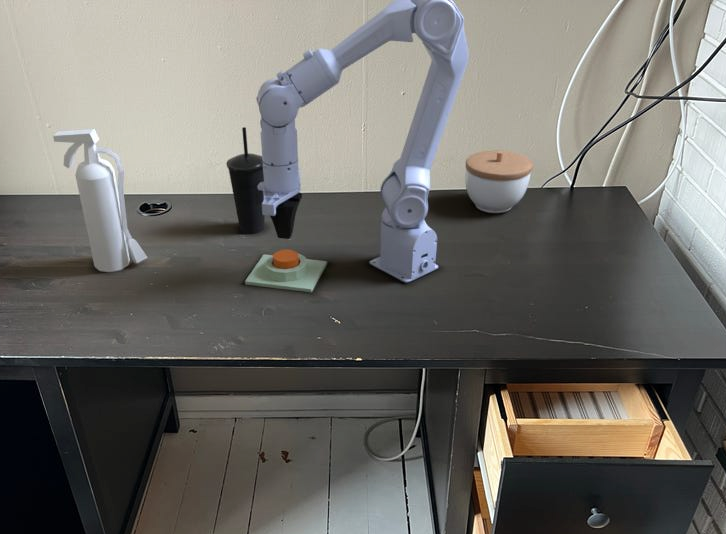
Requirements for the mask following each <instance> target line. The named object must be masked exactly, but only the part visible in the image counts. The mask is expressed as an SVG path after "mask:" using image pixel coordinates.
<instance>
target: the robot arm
mask: <svg viewBox="0 0 726 534" xmlns="http://www.w3.org/2000/svg"><path fill="white" fill-rule="evenodd" d="M465 31H466V30H465V17H464V16H463V14H462V12H461V11H460V9H459V8H458V7H457V5H456V3H455V2H454V1H453V0H393V1H391V2H390V3H389V4H388V5H387V6H386V7H385V8H383V9H382V10H381V11H380V12H378V13H377V14H376V15H374V16H373V17H372V18H370V19H369V20H367V21H366V22H365V23H364V24H363V25H361V26H360V27H359V28H357V29H356V30H355V31H354V32H352V33H351V34H350V35H348V36H347V37H346V38H345V39H343V40H342V41H340V43H338V44H337V45H335V46H334V47H333V48H331V49H326V48H316V50H313V51H312V49H308V50H306V51H305V52H304V53H302V57H303V58H302V59H301V60H299V61H298V62H296V63H295V64H294V65H293V66H291V67H290V68H288V69H287V70H285V71H283V70H281V71H278V72H277V73H276V77H277V78H270V79H268V80H266V81H264V82H263V83H262V84H261V86H260V87H259V90H258V91H257V95H256V103H257V106H258V110H259V114H260V121H259V124H260V129H261V130H260V146H261V156H262V160H263V173H264V182H260V183H259V185H258V190H262V191H263V193H264V200H263V203H262V213H263V215H265V216H269V217H270V219H271V221H272V223H273V226H274V230H275V233H276V236H277V238H278V239H284V240H290V239H291V238H292V235H293V232H294V227H295V221H296V215H297V211H298V207H299V206H300V203H301V200H302V198H303V193H302V192H301V189H302V187H301V186H302V185H301V180H302V175H301V169H300V168H299V149H298V147H299V146H298V145H299V144H298V143H299V142H298V130H297V128H296V118H297V117H298V113H299V110H300V108H304V107H306V106H307V105H308V104H310V103H312V102H313V101H315V100H316V99H318V98H319V97H321V96H322V95H323V94H325V93H326V92H328V91H329V90H331V89H332V88H333V87H335V86H337V85H338V84H339V83H340V80H341V75H342V72H343V71H344V70H345V69H346V68H348V67H350V66H351V65H353V64H354V63H356V62H358V61H360V60H362V59H363V58H364V57H366V56H368V55H369V54H370V53H373V52H374V51H376V50H377V49H379V48H380V47H382V46H384V45H385V44H387V43H389V42H404V43H413V42H414V38H413V34H415V35H416V36H417V37H418V39H419V40H420V41H421V42H422V44H423V46H424V48H425V50H426V51H427V53H428V55H429V57H430V59H431V60H430V61H431V62H430V65H429V68H428V70H427V71H428V72H427V74H426V77H425V80H424V84H423V86H422V89H421V92H420V96H419V99H418V102H417V104H416V105H417V106H416V109H415V111H414V114H413V118H412V121H411V123H410V127H409V130H408V133H407V136H406V138H405V142H404V145H403V148H402V152H401V154H400V158H398V159H397V160H396V161H394V163H393V164H392V168H391V171H390V172H389V173H388V175H387V176H386V177H385V178H384V179H383V181H382V183H381V185H380V189H379V191H380V192H379V193H380V197H381V199H382V201H383V202H384V205H385V207H384V210H383V211H382V213H381V216H380V217H381V218H380V219H381V221H380V225H381V226H380V252H379V253H380V254H379V256H378V257H376V258H374V259H371V260H369V265H371V266H372V267H374V268H376V269H378V270H380V271H382V272H384V273H386V274H387V275H390V276H392V277H393V278H395V279H396V280H399V281H401V282H403V283H405V284H408V283H411V282H413V281H415V280H417V279H418V278H422V277H423V276H425V275H427V274H429V273H432V272H434V271H436V270H437V269H439V265H438V264H436V259H437V249H438V236H437V233H436V231H435V230H434V229H433V228H431V227H430V226H429V225H428V224H427V223H426V220H425V219H426V217H427V215H428V212H429V202H428V197H429V193H430V190H431V168H432V165H433V162H434V159H435V157H436V154H437V151H438V148H439V145H440V143H441V139H442V137H443V134H444V132H445V129H446V125H447V122H448V120H449V117H450V114H451V111H452V108H453V106H454V102H455V100H456V97H457V95H458V91H459V89H460V86H461V84H462V81H463V80H462V79H463V77H464V74H465V71H466V69H467V65H468V62H469V57H470V55H469V49H468V43H467V38H466V33H465Z"/></svg>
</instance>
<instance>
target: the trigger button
mask: <svg viewBox="0 0 726 534" xmlns="http://www.w3.org/2000/svg"><path fill="white" fill-rule="evenodd" d="M298 254H299V252H297V251H295V250H292V249H281V250H278V251H276V252H274V253H273V254H272V255H273V264H274V267H276V268H278V269H290V268H294V267H296V266H298V264H299V259H298Z"/></svg>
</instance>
